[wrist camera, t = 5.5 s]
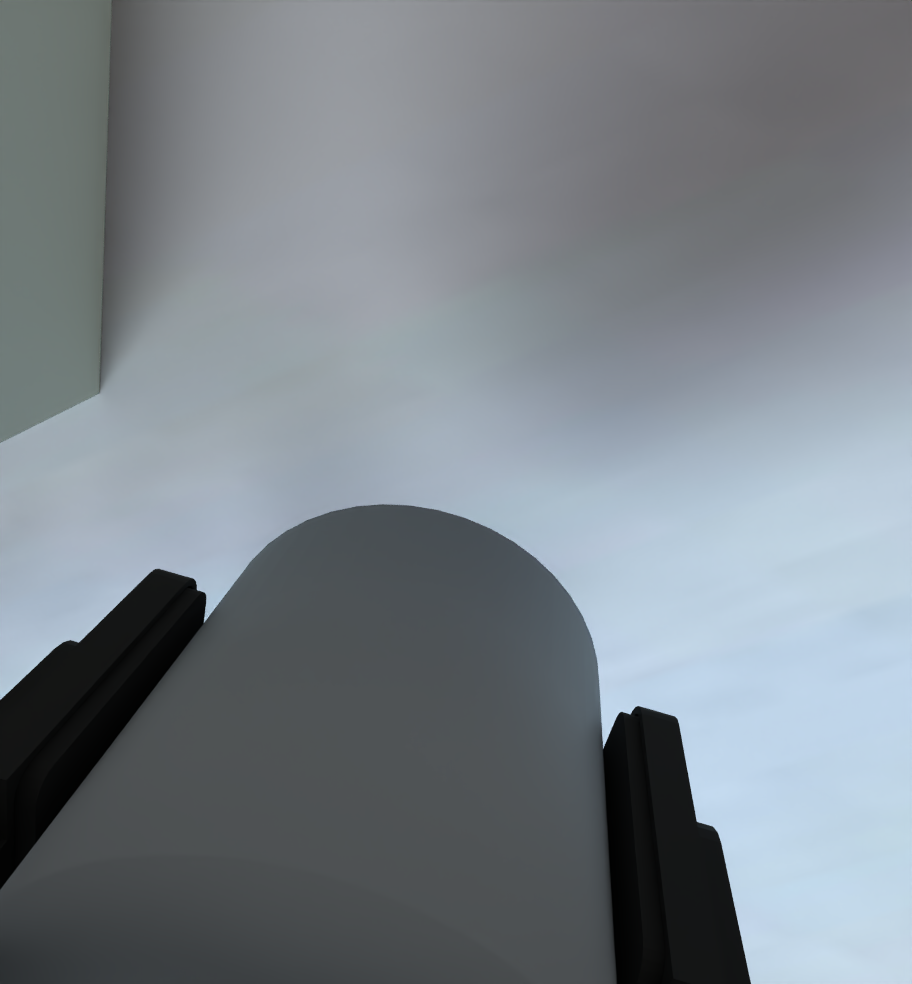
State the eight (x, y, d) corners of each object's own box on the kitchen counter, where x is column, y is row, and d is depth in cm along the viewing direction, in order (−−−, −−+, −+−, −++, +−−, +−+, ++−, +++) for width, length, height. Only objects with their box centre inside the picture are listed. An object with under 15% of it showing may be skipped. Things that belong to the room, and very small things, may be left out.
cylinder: (548, 855, 13) (534, 1344, 8) (212, 773, 14) (-26, 1193, 8) (647, 557, 11) (727, 975, 5) (232, 463, 11) (-94, 771, 6)
